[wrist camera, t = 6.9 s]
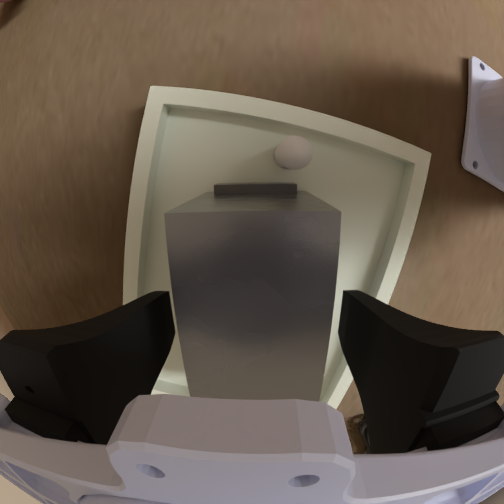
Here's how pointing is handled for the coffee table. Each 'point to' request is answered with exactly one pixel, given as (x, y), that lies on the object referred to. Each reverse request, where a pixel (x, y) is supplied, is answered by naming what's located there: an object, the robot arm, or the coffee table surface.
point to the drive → (254, 289)
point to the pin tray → (271, 170)
